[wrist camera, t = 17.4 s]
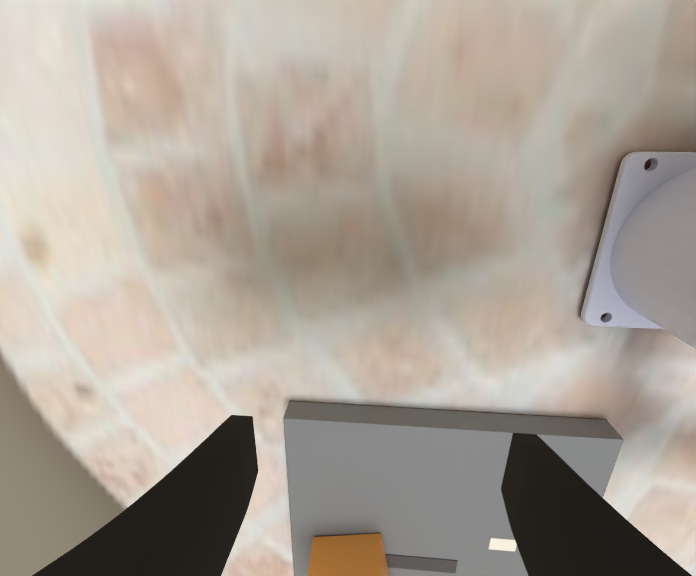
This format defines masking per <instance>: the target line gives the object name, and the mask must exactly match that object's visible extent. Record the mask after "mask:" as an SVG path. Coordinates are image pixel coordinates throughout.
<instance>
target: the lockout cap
mask: <svg viewBox="0 0 696 576" xmlns="http://www.w3.org/2000/svg"><path fill="white" fill-rule="evenodd" d="M307 576H390V575H389V570H388V565H387V561H386V556H385V551H384V546H383V541H382V536H381V533H379V534H361V535H342V536H323V537H313V539H312V545H311V552H310V558H309V564H308V570H307Z"/></svg>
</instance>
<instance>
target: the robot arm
mask: <svg viewBox="0 0 696 576" xmlns="http://www.w3.org/2000/svg"><path fill="white" fill-rule="evenodd" d="M648 159H650V160H651V166H650V167H649V168H648V169H647V170H645V169H644V164H645V162H646V161H647V160H648ZM604 313H607V315H606V317H605V318H603V319H600V317H601V316H602V315H603V314H604ZM581 319H582V321H584V322H585V323H586V324H587V325H590V326H603V327H627V328H650V329H665V330H666V331H668V332H670V333H671V334H673V335H674V336H676V337H678V338H679V339H681V340H683V341H684V342H686V343H688V344H689V345H691V346H692V347H694V348H696V152H632V153H630V154H628V155H626V156H625V157H624V158H623V160H622V162H621V164H620V168H619V171H618V175H617V179H616V183H615V186H614V190H613V194H612V198H611V202H610V205H609V209H608V213H607V217H606V221H605V224H604V228H603V232H602V236H601V239H600V243H599V247H598V251H597V255H596V258H595V262H594V266H593V270H592V274H591V277H590V281H589V285H588V289H587V292H586V296H585V300H584V304H583V308H582V311H581ZM257 473H258V464H257V455H256V445H255V436H254V427H253V417H252V416H238V415H231V416H230V417H229V418H228V419H227V420H226V421H225V422H223V423H222V424H221V425H220V426H219V427H218V428H217V429H216V430H215V431H214V432H213V433H212V434H211V435H210V436H209V437H208V438H207V439H205V440H204V441H203V442H202V443H201V444H200V445H199V446H198V447H197V448H196V449H195V450H194V451H193V452H192V453H191V454H189V455H188V456H187V457H186V458H185V459H184V460H183V461H182V462H181V463H180V464H178V465H177V466H176V467H175V468H174V469H173V470H172V471H171V472H170V473H168V474H167V475H166V476H165V477H164V478H163V479H162V480H160V481H159V482H158V483H157V484H156V485H155V486H153V487H152V488H151V489H150V490H149V491H147V492H146V493H145V494H144V495H143V496H141V497H140V498H139V499H138V500H137V501H135V502H134V503H133V504H132V505H131V506H129V507H128V508H127V509H126V510H124V511H123V512H122V513H120V514H119V515H118V516H117V517H115V518H114V519H113V520H112V521H110V522H109V523H108V524H106V525H105V526H104V527H102V528H101V529H99V530H98V531H97V532H95V533H94V534H93V535H91V536H90V537H89V538H87V539H86V540H84V541H83V542H82V543H80V544H79V545H77V546H76V547H74V548H73V549H72V550H70V551H69V552H67V553H66V554H64V555H63V556H61V557H60V558H58V559H57V560H56V561H54V562H52V563H51V564H49V565H48V566H46V567H45V568H43V569H42V570H40V571H39V572H37V573H36V574H34V575H33V576H221V574H222V572H223V569H224V567H225V564H226V562H227V559H228V557H229V554H230V552H231V549H232V547H233V544H234V542H235V539H236V537H237V534H238V532H239V529H240V527H241V524H242V522H243V519H244V517H245V514H246V512H247V509H248V506H249V502H250V499H251V495H252V492H253V488H254V485H255V481H256V477H257ZM501 492H502V496H503V500H504V504H505V508H506V512H507V516H508V519H509V523H510V527H511V530H512V533H513V536H514V539H515V541H516V544H517V547H518V549H519V552H520V555H521V557H522V560H523V563H524V565H525V568H526V571H527V573H528V576H692V575H691V574H689V573H688V572H687V571H686V570H684V569H683V568H682V567H681V566H679V565H678V564H677V563H676V562H675V561H673V560H672V559H671V558H670V557H669V556H667V555H666V554H665V553H664V552H663V551H662V550H660V549H659V548H658V547H657V546H656V545H655V544H653V543H652V542H651V541H650V540H649V539H648V538H647V537H645V536H644V535H643V534H642V533H641V532H640V531H638V530H637V529H636V528H635V527H634V526H633V525H632V524H630V523H629V522H628V521H627V520H626V519H625V518H624V517H623V516H622V515H621V514H619V513H618V512H617V511H616V510H615V509H614V508H613V507H612V506H611V505H610V504H609V503H607V502H606V501H605V500H604V499H603V498H602V497H601V496H600V495H599V494H598V493H597V492H596V491H595V490H594V489H593V488H592V487H590V486H589V485H588V484H587V483H586V482H585V481H584V480H583V479H582V478H581V477H580V476H579V475H578V474H577V473H576V472H575V471H574V470H573V469H572V468H571V467H570V466H569V465H568V464H567V463H566V462H565V461H564V460H563V459H562V458H561V457H560V456H559V455H558V454H556V453H555V452H554V451H553V450H552V449H551V448H550V447H549V446H548V445H547V444H546V443H545V442H544V441H543V440H542V439H541V438H540V437H539V436H538V435H537V434H525V433H513V435H512V440H511V444H510V449H509V453H508V458H507V463H506V467H505V472H504V476H503V481H502V485H501Z"/></svg>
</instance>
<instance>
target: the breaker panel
mask: <svg viewBox="0 0 696 576" xmlns="http://www.w3.org/2000/svg"><path fill="white" fill-rule="evenodd" d="M283 419H284V434H285V448H286V463H287V478H288V493H289V508H290V522H291V537H292V552H293V567H294V576H307V570H308V564H309V558H310V552H311V545H312V539H313V537H323V536H342V535H361V534H379V533H381V536H382V541H383V546H384V551H385V556H386V561H387V565H388V570H389V575H390V576H528V573H527V571H526V568H525V565H524V563H523V560H522V557H521V555H520V552H519V549H518V547H517V544H516V541H515V539H514V536H513V533H512V530H511V527H510V523H509V519H508V516H507V512H506V508H505V504H504V500H503V496H502V492H501V485H502V481H503V476H504V472H505V467H506V463H507V458H508V453H509V449H510V444H511V440H512V435H513V433H525V434H537V435H538V436H539V437H540V438H541V439H542V440H543V441H544V442H545V443H546V444H547V445H548V446H549V447H550V448H551V449H552V450H553V451H554V452H555V453H556V454H558V455H559V456H560V457H561V458H562V459H563V460H564V461H565V462H566V463H567V464H568V465H569V466H570V467H571V468H572V469H573V470H574V471H575V472H576V473H577V474H578V475H579V476H580V477H581V478H582V479H583V480H584V481H585V482H586V483H587V484H588V485H589V486H590V487H592V488H593V489H594V490H595V491H596V492H597V493H598V494H599V495H600V496H601V497H602V498H603V496H604V493H605V490H606V487H607V485H608V482H609V479H610V476H611V474H612V471H613V468H614V465H615V462H616V460H617V457H618V454H619V451H620V449H621V446H622V443H623V438H622V437H621V436H620V435H619V434H618V433H617V431H616V430H615V429H614V428H613V427H612V426H611V424H610V423H609V422H608V421H607V420H602V419H585V418H569V417H552V416H535V415H518V414H501V413H484V412H467V411H450V410H433V409H417V408H400V407H383V406H366V405H349V404H332V403H315V402H298V401H290V402H289V404H288V407H287V410H286V413H285V416H284V418H283Z"/></svg>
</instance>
